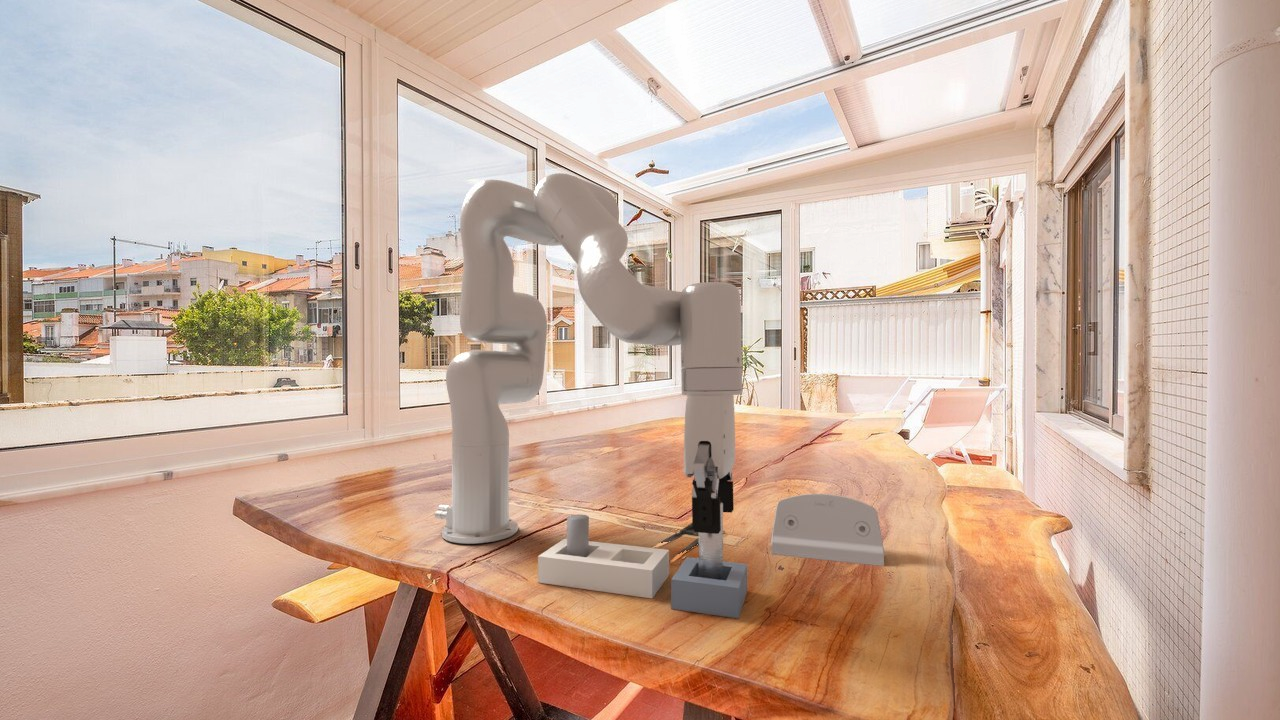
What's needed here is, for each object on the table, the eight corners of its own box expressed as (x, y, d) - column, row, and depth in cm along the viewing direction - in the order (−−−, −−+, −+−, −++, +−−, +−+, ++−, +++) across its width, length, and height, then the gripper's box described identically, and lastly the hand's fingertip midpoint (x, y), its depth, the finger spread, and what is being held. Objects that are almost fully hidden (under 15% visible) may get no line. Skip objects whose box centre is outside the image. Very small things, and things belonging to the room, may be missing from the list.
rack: (538, 582, 73) (538, 522, 73) (564, 562, 81) (564, 507, 81) (652, 598, 68) (652, 534, 68) (669, 575, 76) (669, 517, 76)
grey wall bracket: (769, 554, 84) (770, 488, 87) (771, 554, 88) (773, 492, 92) (887, 566, 79) (884, 496, 82) (883, 566, 83) (880, 499, 87)
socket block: (671, 608, 65) (671, 579, 65) (686, 583, 73) (686, 557, 73) (738, 618, 63) (738, 587, 63) (747, 591, 70) (747, 563, 70)
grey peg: (696, 603, 67) (696, 504, 67) (701, 593, 70) (701, 499, 70) (720, 606, 66) (720, 506, 66) (724, 596, 69) (724, 500, 69)
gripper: (696, 381, 77) (699, 503, 77) (663, 385, 61) (666, 539, 60) (750, 381, 75) (753, 506, 74) (731, 384, 58) (734, 545, 58)
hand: (714, 521), depth 67 cm, fingers open, 9 cm apart
